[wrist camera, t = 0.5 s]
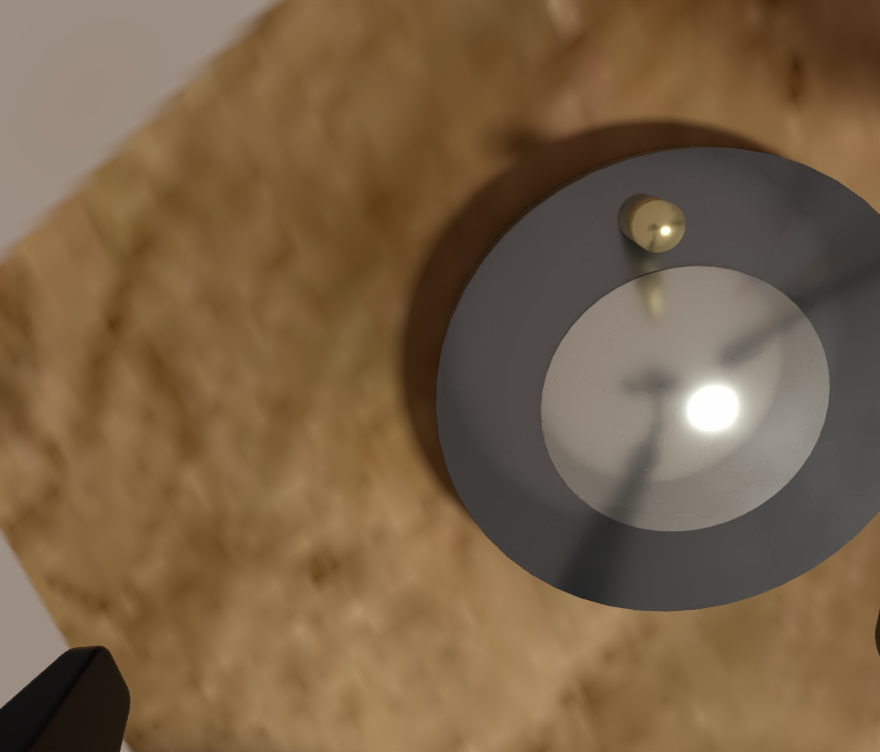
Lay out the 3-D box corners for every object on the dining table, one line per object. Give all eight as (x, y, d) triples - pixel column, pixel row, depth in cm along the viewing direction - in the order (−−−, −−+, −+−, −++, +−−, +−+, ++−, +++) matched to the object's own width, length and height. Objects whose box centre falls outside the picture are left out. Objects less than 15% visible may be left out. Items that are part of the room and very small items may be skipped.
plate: (934, 530, 23) (1003, 590, 20) (507, 629, 25) (513, 699, 22) (884, 75, 19) (964, 66, 16) (374, 233, 21) (359, 252, 18)
